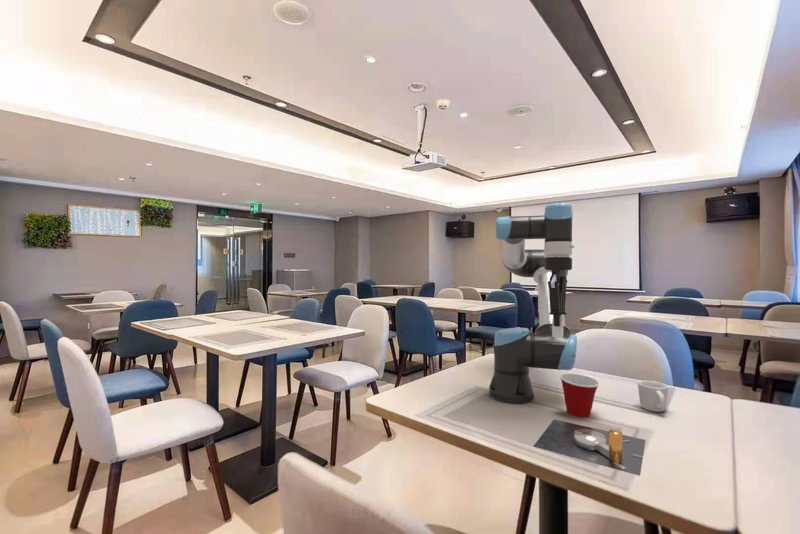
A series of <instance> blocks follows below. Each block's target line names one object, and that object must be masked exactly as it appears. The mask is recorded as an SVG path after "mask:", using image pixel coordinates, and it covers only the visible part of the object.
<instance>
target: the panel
mask: <svg viewBox="0 0 800 534" xmlns="http://www.w3.org/2000/svg"><path fill="white" fill-rule="evenodd" d="M578 429H588V430H593V431H597V432H599V433H601V434H603V435H604V436H605V437H606V445H608V446H609V430H608V431H607V430H603V429H599V428H594V427H590V426H586V425H581V424H577V423H572V422H567V421H565V420H559V419H553V420H552V421H551V422H550V424H549V425H548V426H547V428H546V429H545V430H544V432H543V433H542V434H541V436H539V438H538V440H537V441H536V442H535V443H534V445H533V447H534V448H537V449H541V450H544V451H548V452H552V453H555V454H559V455H563V456H567V457H570V458H574V459H576V460H577V459H578V460H581V461H585V462H589V463H592V464H596V465H599V466H603V467H607V468H610V469H613V470H616V471H621V472H624V473H627V474H633V475H634V476H641V472H642V465H643V458H644V454H645V453H644V452H645V446H646V439H644V438H639V437H634V436H629V435H624V434H622V462H620V463H617V462H613V461H611V460H610V459H609V458H608V457H607V456H605V455H603V454H602V453H600V452H599V451H597V450H589V449H585V448H582V447H580V446H578V445H577V444H576V443H575V442H574V431H576V430H578Z"/></svg>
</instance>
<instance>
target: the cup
mask: <svg viewBox="0 0 800 534" xmlns="http://www.w3.org/2000/svg"><path fill="white" fill-rule="evenodd" d="M637 387H638V389H637V390H638V396H639V397H638V398H639V405H640V407H641V408H642V409H644V410H645V411H649V412H654V413H660V412H663V411H665V410H666V407H667V399H668V391H669V386H668V385H667V384H666V383H662V382H659V381H657V380H656V381H655V380H645V379H644V380H638V382H637Z"/></svg>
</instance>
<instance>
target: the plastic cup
mask: <svg viewBox="0 0 800 534" xmlns="http://www.w3.org/2000/svg"><path fill="white" fill-rule="evenodd" d="M559 378H560V380H561V384H562V385H561V386H562V391H563V395H564V396H563V397H564V404H565V408H566V413H567V414H569V415H570V416H573V417H576V418H577V417H578V418H588V417H591V413H592V409H593V406H594V400H595V399H594V398H595V394H596V392H597V389H598V387H599V386H600V384H601V382H600V381H599V380H597V379H596V378H595V377H591V376H588V375H584V374H582V373H581V374H580V373H572V372H571V373H570V372H569V373H568V372H566V373H561V374H560V375H559Z"/></svg>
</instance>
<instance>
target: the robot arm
mask: <svg viewBox="0 0 800 534" xmlns="http://www.w3.org/2000/svg"><path fill="white" fill-rule="evenodd" d="M573 217H574V214H573V206H572V204H571V203H566V202H558V203H557V202H556V203H549V204H546V205H545V207H544V214H543V215H517V216H515V215H513V216H510V215H506V216H500V217H497V218H496V220H495V238H496V240H500V241H501V240H502V244H503V253H502V257H501V261H502V264H503V266H504V267H505V269H506V270H507V271H509V273H512V274H513V275H515V276H518V277H521V278H533V280H534V282H535V283H536V284H537V297H538V298H537V300H538V321H539V322H538V323H539V325H538V327H536V329H535V332H531V331H530V329H529V328H528V327H508V328H502V329H500V330H497V331H496V332H495V334H494V341H493V342H494V343H493V349H494V350H493V351H494V355H493V358H494V359H493V374H492V375H493V376H492V377H491V379H490V384H489V387H488V395H489V394H490V395H489V397H490V398H492V397H493V398H492V399H494V398H495V399H494V400H496V399H497V400H496V401H499V402H502V401H503V402H504V403H508V404H509V403H510V404H526V403H531V402H532V401H535V390H534V387H533V384H532V380H531V377H530V368H532V369H533V368H534V369H542V370H543V369H544V370H547V369H548V370H556V371H557V370H558V371H570V370H573V369H574V367H575V363H576V358H577V357H576V356H577V348H578V347H577V346H578V338H577V335H576V334H572V332H571V329H570V328H569V327H568V326H567V325H566V320H565V319H566V318H565V315H567V312H566V301H567V300H566V299H567V298H566V297H567V285H568V279H567V277H568V274H569V271H572V269H573V258H572V257H570V256H572V254H573V249H574V248H575V244H573ZM526 240H544V245H543V246H544V247H543V248H544V249H525V247H526Z"/></svg>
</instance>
